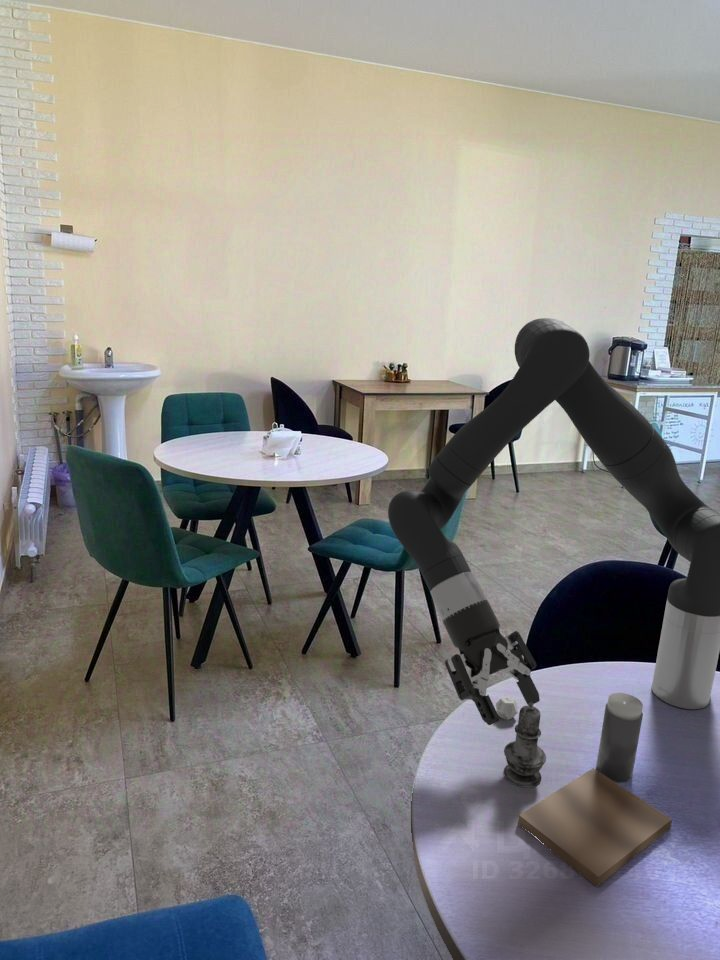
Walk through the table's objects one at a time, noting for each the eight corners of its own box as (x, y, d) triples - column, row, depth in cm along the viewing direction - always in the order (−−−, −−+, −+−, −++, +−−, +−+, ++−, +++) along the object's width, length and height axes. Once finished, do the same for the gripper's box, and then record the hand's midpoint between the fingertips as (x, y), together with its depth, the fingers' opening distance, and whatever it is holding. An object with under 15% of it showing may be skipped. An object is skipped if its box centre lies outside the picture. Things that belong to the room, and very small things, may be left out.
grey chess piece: (544, 792, 98) (554, 717, 95) (501, 785, 99) (509, 711, 96) (542, 765, 104) (552, 693, 100) (501, 758, 105) (509, 687, 102)
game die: (507, 725, 113) (509, 709, 112) (490, 714, 116) (491, 698, 115) (522, 717, 115) (524, 701, 114) (504, 706, 118) (506, 690, 117)
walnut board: (591, 776, 102) (593, 767, 101) (670, 828, 93) (672, 819, 92) (517, 824, 92) (518, 814, 92) (596, 887, 83) (598, 876, 83)
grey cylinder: (609, 754, 107) (620, 688, 104) (639, 773, 103) (651, 704, 100) (589, 767, 104) (599, 699, 101) (619, 786, 100) (631, 716, 97)
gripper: (443, 611, 100) (496, 723, 94) (511, 588, 108) (564, 690, 102) (415, 630, 105) (464, 737, 100) (482, 606, 113) (531, 704, 108)
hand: (515, 713), depth 101 cm, fingers open, 8 cm apart
